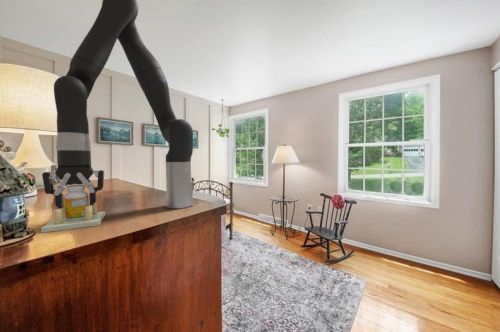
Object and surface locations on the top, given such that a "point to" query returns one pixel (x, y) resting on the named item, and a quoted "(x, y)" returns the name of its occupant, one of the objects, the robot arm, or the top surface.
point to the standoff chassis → (62, 224)
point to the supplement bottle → (75, 202)
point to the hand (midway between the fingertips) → (76, 206)
